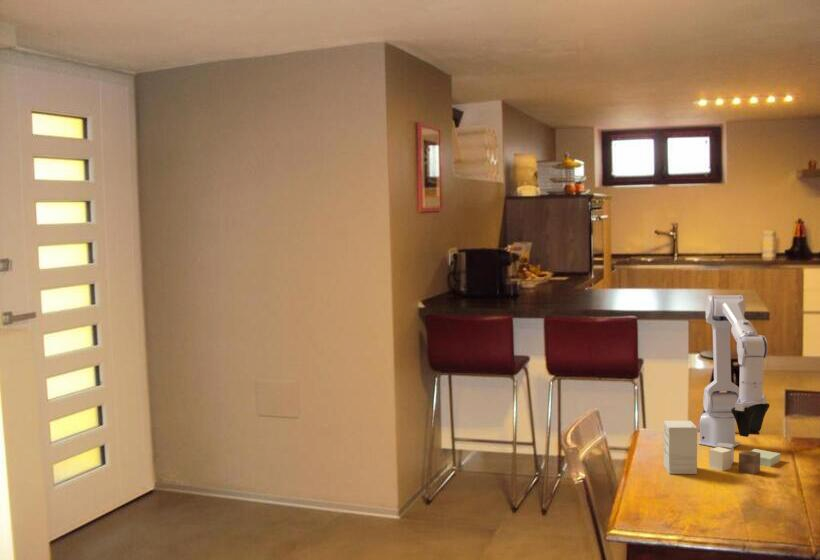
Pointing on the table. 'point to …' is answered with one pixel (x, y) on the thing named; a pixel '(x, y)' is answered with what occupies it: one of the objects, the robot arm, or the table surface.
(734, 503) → the table surface
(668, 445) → the supplement box
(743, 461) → the walnut block
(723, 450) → the cream block
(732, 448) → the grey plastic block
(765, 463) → the sage slab
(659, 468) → the table surface
